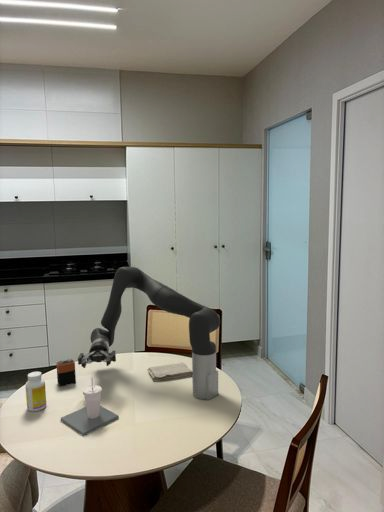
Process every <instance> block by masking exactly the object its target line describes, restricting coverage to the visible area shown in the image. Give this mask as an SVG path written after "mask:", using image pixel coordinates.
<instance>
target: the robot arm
mask: <svg viewBox="0 0 384 512" xmlns="http://www.w3.org/2000/svg"><path fill="white" fill-rule="evenodd" d="M127 289H137V290H139V291H140V292H143V293H144V294H145V295H146V296H147V297H148V299H149V301H150V302H151V303H152V304H153V305H154V306H156V307H157V308H159V309H161V310H163V311H164V312H167V313H170V314H173V315H178V316H184V317H186V318H188V319H189V320H188V334H189V344H190V348H191V358H192V359H191V365H192V366H191V371H192V376H191V377H192V378H191V379H192V381H191V382H192V395H193V397H195V398H196V399H201V400H208V401H210V400H211V399H213V398H215V397H216V396H218V395H219V370H217V345H216V342H213V341H211V336H210V334H212V333H213V332H215V331H216V330H217V329H219V327H220V326H221V318H220V316H219V314H218V313H217V312H216V311H215V310H214V309H212V308H210V307H208V306H206V305H204V304H201V303H199V302H195V301H193V300H192V299H190V298H188V297H187V296H185V295H183V294H182V293H180V292H178V291H176V290H175V289H173V288H171V287H170V286H168V285H165V284H164V283H162V282H160V281H157V280H156V279H154V278H152V277H150V276H149V275H148V274H147V273H145V272H144V271H142V269H139V268H138V267H135V266H122V267H119V268H118V269H117V270H116V271H115V274H114V277H113V281H112V285H111V290H110V294H109V299H108V303H107V306H106V308H105V311H104V314H103V316H102V318H101V321H100V324H101V326H102V327H103V328H104V329H103V328H101V327H96V328H94V329H93V330H92V332H91V334H90V343H91V345H90V348H89V352H88V353H87V354H84V353H83V352H81V353H80V354H79V355H78V357H77V364H78V366H79V365H81V367H82V368H83V369H85V368H86V366H87V365H88V364H89V365H90V364H92V363H102V362H103V363H106V365H105V366H106V367H109V366H110V365H111V363H112V362H114V363H115V362H116V361H117V357H116V353H117V352H116V350H112V351H111V352H109V351H110V347H111V346H112V345H113V344H114V341H115V335H116V334H115V333H116V327H117V325H118V323H119V319H120V317H121V314H122V308H123V307H122V296H123V294H124V293H125V291H126V290H127Z"/></svg>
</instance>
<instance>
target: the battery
mask: <svg viewBox="0 0 384 512" xmlns="http://www.w3.org/2000/svg"><path fill="white" fill-rule="evenodd" d="M76 377H77V376H76V363H75V361H74V359H73V358H67V359H66V360H59V361H57V362H56V379H57V384H58V386H59V387H63V386H64V387H65V386H68V385H73V384H76V383H77V379H76Z"/></svg>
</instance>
